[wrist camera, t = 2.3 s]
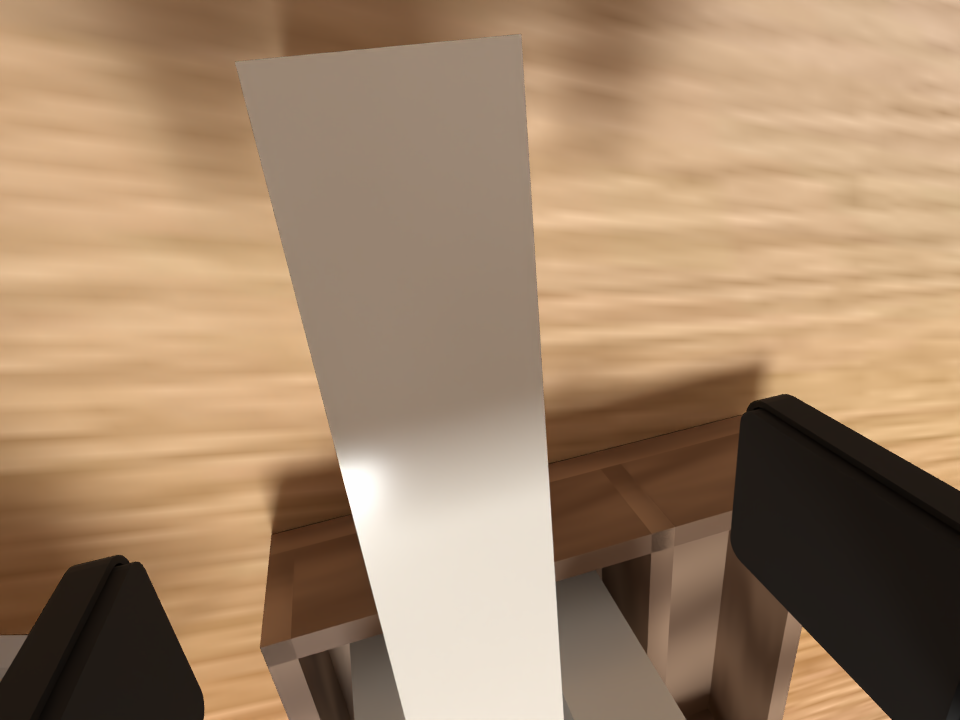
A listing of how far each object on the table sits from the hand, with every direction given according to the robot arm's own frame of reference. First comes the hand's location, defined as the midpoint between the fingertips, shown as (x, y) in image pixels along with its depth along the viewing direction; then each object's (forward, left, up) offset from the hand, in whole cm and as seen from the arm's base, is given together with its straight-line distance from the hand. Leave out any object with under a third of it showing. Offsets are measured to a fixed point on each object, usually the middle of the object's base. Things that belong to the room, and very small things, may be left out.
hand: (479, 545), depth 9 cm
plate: (-1, 0, -10) cm, 10 cm away
